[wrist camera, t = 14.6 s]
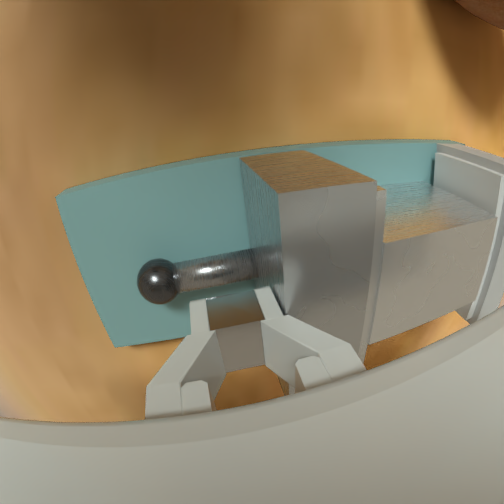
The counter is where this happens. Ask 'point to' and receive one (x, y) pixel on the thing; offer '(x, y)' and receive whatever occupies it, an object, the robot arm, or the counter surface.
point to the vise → (240, 222)
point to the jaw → (297, 246)
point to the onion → (486, 10)
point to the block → (428, 257)
